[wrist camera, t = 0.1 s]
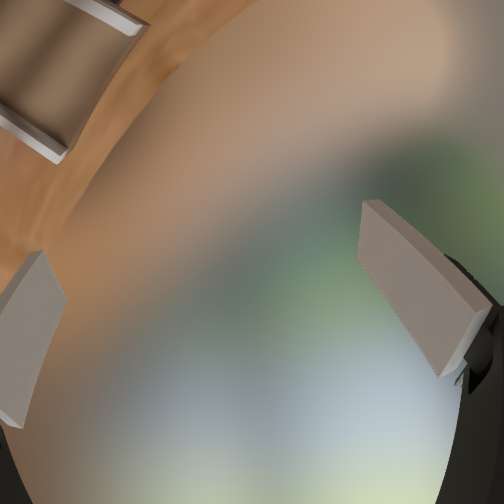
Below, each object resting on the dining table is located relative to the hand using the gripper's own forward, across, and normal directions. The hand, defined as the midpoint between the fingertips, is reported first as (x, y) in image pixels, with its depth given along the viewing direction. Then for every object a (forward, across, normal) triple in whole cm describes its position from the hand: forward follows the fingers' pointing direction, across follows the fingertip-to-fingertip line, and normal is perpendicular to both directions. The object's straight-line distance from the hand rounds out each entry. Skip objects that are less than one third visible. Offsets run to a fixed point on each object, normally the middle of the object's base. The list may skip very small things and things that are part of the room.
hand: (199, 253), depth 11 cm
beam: (+12, -15, +18) cm, 26 cm away
